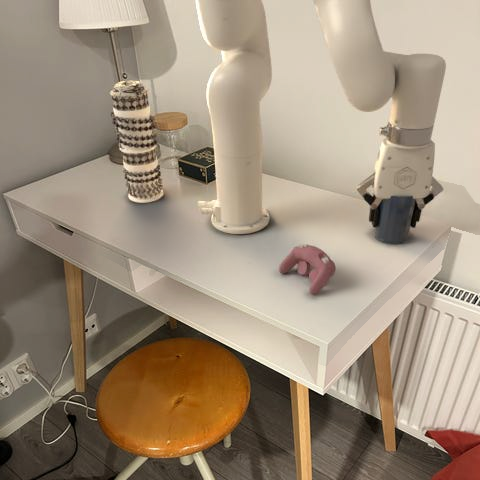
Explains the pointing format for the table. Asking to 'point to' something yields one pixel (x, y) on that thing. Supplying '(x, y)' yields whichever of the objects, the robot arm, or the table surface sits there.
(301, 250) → the video game controller
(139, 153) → the decorative candle
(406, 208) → the cup
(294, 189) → the table surface
